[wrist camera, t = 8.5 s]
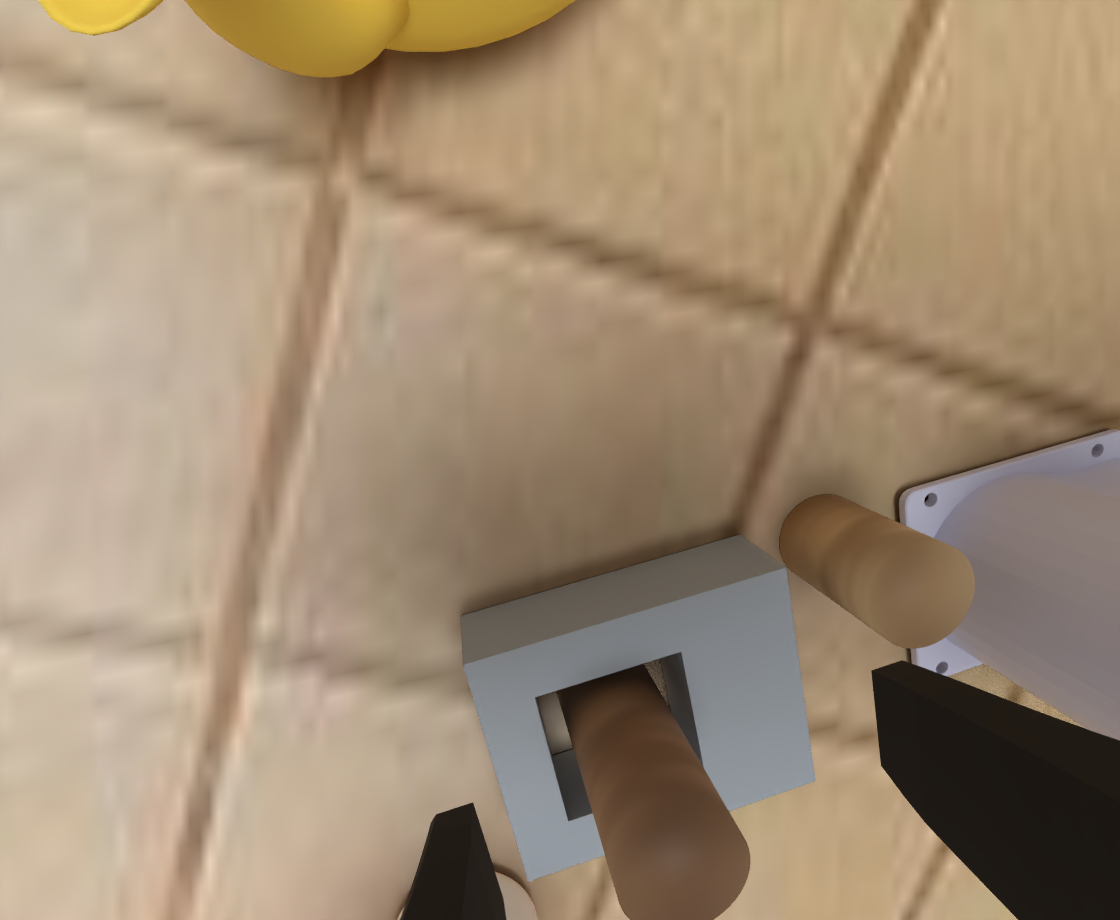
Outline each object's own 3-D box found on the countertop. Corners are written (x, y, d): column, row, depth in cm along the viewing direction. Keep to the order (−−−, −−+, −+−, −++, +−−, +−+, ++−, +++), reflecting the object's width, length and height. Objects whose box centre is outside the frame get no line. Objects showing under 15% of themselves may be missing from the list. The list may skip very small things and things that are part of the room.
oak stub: (855, 484, 22) (971, 529, 17) (863, 564, 22) (977, 629, 18) (773, 507, 21) (868, 561, 16) (785, 588, 22) (879, 662, 17)
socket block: (740, 534, 21) (786, 567, 18) (769, 724, 23) (815, 781, 20) (460, 615, 20) (463, 665, 17) (517, 808, 22) (528, 881, 19)
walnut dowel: (637, 627, 21) (744, 798, 14) (648, 705, 22) (755, 908, 14) (548, 649, 21) (607, 839, 13) (563, 728, 22) (627, 950, 14)
